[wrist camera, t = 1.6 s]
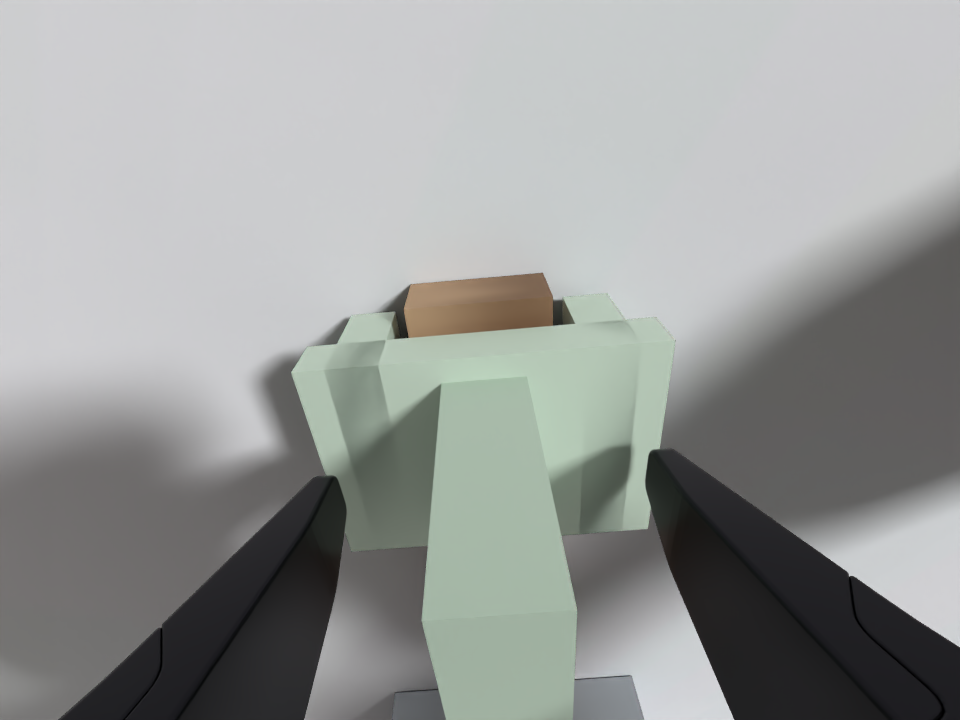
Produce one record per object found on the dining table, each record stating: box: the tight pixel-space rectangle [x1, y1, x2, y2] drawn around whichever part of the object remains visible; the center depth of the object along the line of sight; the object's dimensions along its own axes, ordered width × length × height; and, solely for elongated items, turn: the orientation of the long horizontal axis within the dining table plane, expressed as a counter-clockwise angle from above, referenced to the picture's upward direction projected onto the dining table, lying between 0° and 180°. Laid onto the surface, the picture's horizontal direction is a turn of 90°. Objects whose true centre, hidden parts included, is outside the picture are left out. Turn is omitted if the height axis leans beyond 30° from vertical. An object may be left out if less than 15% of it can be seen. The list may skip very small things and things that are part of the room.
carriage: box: [291, 293, 676, 720], centre depth 9 cm, size 7×5×7 cm
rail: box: [404, 273, 553, 338], centre depth 14 cm, size 3×18×1 cm, turn 5°
